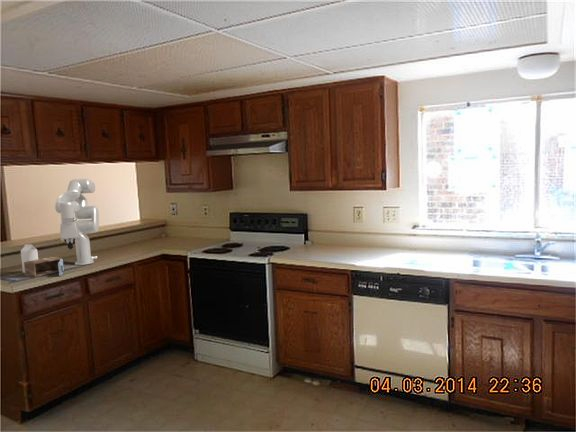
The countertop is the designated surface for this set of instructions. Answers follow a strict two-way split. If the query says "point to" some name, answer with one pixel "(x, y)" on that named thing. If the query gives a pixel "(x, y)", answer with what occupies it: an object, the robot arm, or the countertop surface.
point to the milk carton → (28, 254)
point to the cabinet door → (60, 267)
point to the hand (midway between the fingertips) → (70, 249)
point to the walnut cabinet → (41, 266)
